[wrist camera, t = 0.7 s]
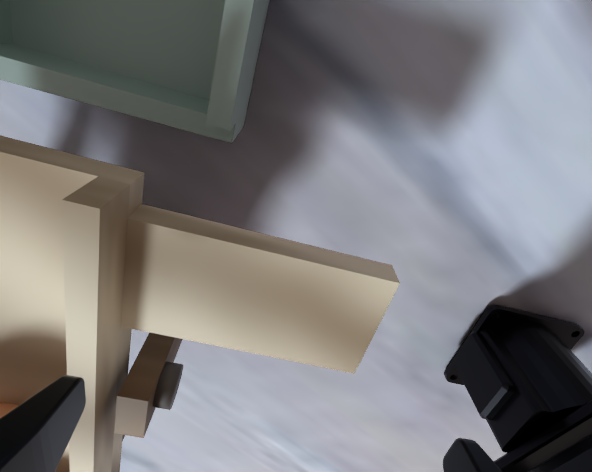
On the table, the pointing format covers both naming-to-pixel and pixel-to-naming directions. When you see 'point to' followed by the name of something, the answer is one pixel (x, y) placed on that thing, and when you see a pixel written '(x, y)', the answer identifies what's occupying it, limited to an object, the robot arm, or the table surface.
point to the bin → (140, 56)
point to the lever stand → (148, 385)
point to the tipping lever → (153, 288)
